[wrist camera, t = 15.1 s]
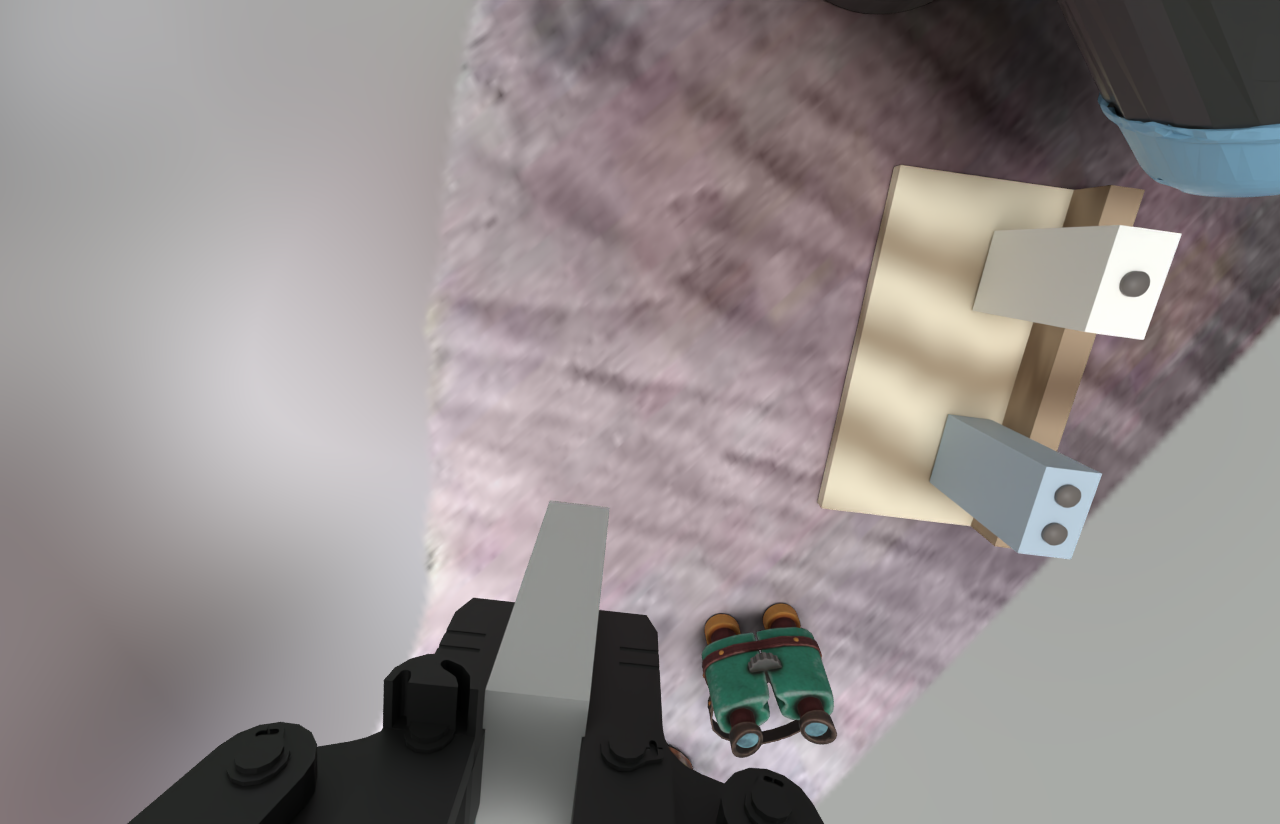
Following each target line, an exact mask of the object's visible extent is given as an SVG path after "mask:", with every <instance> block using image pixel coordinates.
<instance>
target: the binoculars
mask: <svg viewBox="0 0 1280 824" xmlns="http://www.w3.org/2000/svg"><path fill="white" fill-rule="evenodd" d="M763 625H764V628H765V630H763V631H758V632H757V633H756V634H757V638H758V641H756V638H755V635H754V633H745V634H741V633H740V628H739V625H738V623H737V621H736V620H735V619H734V618H733V617H731V616H729V615H726V614H718V615H715V616H713V617H711V618H710V619H709V620H708V621H707V623H706V625H705V636H706V641H707V644H708V646H706V647H705V648H704V650H703V652H702V660H703V662H702V668H703V677H704V678H705V681H706V684H707V685H708V688H709V692H710V697H709V700H708V709H709V714H710V720H711V725H712V730H713V731H714V732H715V733H716V734H717V735H719V736H720V737H721V738H722V739H725V740H728V741H730V743H731V749H732V753H733V754H734V755H735V756H736V757H739V758H744V757H748V756H750V755H752V754H754V753H755V752H756V751H757V750H758V749H759V748H760V746H761V745H762V744H766V743H771V742H775V741H779V740H781V739H784V738H787V737H790V736H792V735H794V734H796V733H798V732H800V731H801V734H802V735H803V737H804V738H805V739H807V740H808V741H810V742H812V743H815V744H829V743H831V742H833V741H834V740H835V739H836V736H837V732H836V729H835V727H834V724H833V722H832V719H831V717H830V714H831V713H832V712H833V708H834V701H833V695H832V691H831V688H830V684H829V681H828V678H827V675H826V672H825V669H824V666H823V663H822V658H821V657H822V654H821V651H820V649H819V646H818V644H817V642H816V641H815V640H814V637H813V635H812V633H811V632H809V631H808V630H806V629H803V628H800V627H801V625H800V621H799V618H798V616H797V613H796V611H795V610H794V609H793V608H792V607H791V606H789V605H787V604H775V605H773V606H771V607H770V608H768V609H767V611H766V612H765V614H764V616H763ZM759 650H761V654H760V652H759ZM768 682H769V683H770V684H771V686H772V689H773V692H774V695H775V698H776V701H777V703H778V706H779V709H780V711H781V713H782V715H783V716H785V717H786V718H789V719H792V720H794V721H792V722H790V723H788V724H786V725H783V726H781V727H778V728H775V729H771V730H767V731H761V728H760V727H759V726H760V725H762V724H763V723H765V722H766V721H767V720H768V718H769V717H770V711H769V705H768V699H769V690H768V685H767V683H768ZM713 710H714V713H715V717H716V720H717V722H718V723H717V722H715V721H714V720H713V719H712V716H713Z"/></svg>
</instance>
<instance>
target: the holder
mask: <svg viewBox="0 0 1280 824" xmlns="http://www.w3.org/2000/svg"><path fill="white" fill-rule="evenodd" d="M1144 191H1145V190H1141V189H1134V188H1128V187H1121V186H1114V185H1108V186H1101V187H1093V188H1085V189H1078V190H1071V189H1064V188H1057V187H1050V186H1043V185H1036V184H1029V183H1022V182H1015V181H1008V180H1001V179H994V178H987V177H981V176H974V175H967V174H960V173H953V172H946V171H939V170H932V169H925V168H918V167H911V166H904V165H899V166H896V167H894V170H893V174H892V178H891V183H890V187H889V191H888V196H887V200H886V204H885V209H884V213H883V218H882V222H881V226H880V231H879V235H878V239H877V244H876V248H875V253H874V257H873V261H872V266H871V270H870V274H869V279H868V283H867V288H866V292H865V296H864V301H863V305H862V309H861V314H860V318H859V323H858V327H857V331H856V336H855V340H854V344H853V349H852V353H851V358H850V362H849V366H848V371H847V375H846V379H845V384H844V388H843V393H842V397H841V401H840V406H839V410H838V414H837V419H836V423H835V427H834V432H833V436H832V441H831V445H830V449H829V454H828V458H827V462H826V467H825V471H824V476H823V480H822V484H821V489H820V493H819V497H818V502H817V503H818V504H819V505H820V507H821V508H824V509H832V510H840V511H849V512H857V513H865V514H874V515H882V516H891V517H899V518H907V519H916V520H924V521H932V522H941V523H949V524H958V525H966V526H971V527H972V528H974V529H975V530H976V531H977V532H978V533H980V534H981V535H982V536H983V537H984V538H986V539H987V540H988V541H989V542H990V543H992V544H993V545H994V546H997V547H1005V548H1011V547H1010V546H1008V545H1007V544H1006V543H1005V542H1003V541H1002V540H1001V539H1000V538H998V537H997V536H996V535H995V534H993V533H992V532H991V531H990V530H988V529H987V528H986V527H985V526H983V525H982V524H981V523H980V522H978V521H977V520H976V519H975V518H973V517H972V516H971V515H970V514H968V513H967V512H966V511H965V510H963V509H962V508H961V507H960V506H959V505H957V504H956V503H955V502H954V501H952V500H951V499H950V498H949V497H947V496H946V495H945V494H944V493H942V492H941V491H940V490H939V489H937V488H936V487H935V486H934V485H932V484H931V483H930V478H931V475H932V471H933V468H934V464H935V461H936V457H937V453H938V450H939V446H940V443H941V439H942V436H943V432H944V429H945V425H946V421H947V418H948V414H951V415H958V416H966V417H974V418H982V419H990V420H993V421H995V422H997V423H999V424H1001V425H1003V426H1005V427H1007V428H1009V429H1011V430H1013V431H1015V432H1018V433H1020V434H1022V435H1024V436H1026V437H1028V438H1030V439H1032V440H1034V441H1036V442H1038V443H1040V444H1042V445H1044V446H1046V447H1048V448H1050V449H1052V450H1055V451H1057V449H1058V446H1059V443H1060V440H1061V437H1062V434H1063V431H1064V428H1065V425H1066V422H1067V419H1068V416H1069V413H1070V410H1071V407H1072V405H1073V402H1074V399H1075V396H1076V393H1077V390H1078V387H1079V384H1080V381H1081V378H1082V375H1083V372H1084V369H1085V366H1086V363H1087V360H1088V357H1089V354H1090V351H1091V348H1092V345H1093V342H1094V339H1095V336H1096V333H1089V332H1083V331H1077V330H1072V329H1067V328H1062V327H1056V326H1051V325H1046V324H1041V323H1035V322H1030V321H1025V320H1019V319H1014V318H1009V317H1004V316H998V315H993V314H988V313H982V312H977V311H972V310H973V306H974V303H975V299H976V295H977V292H978V288H979V285H980V281H981V278H982V274H983V270H984V267H985V263H986V260H987V256H988V252H989V249H990V245H991V242H992V238H993V234H994V231H998V230H1020V229H1043V228H1065V227H1087V226H1109V225H1123V226H1130V227H1133V224H1134V221H1135V218H1136V215H1137V212H1138V209H1139V206H1140V203H1141V200H1142V197H1143V194H1144Z"/></svg>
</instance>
